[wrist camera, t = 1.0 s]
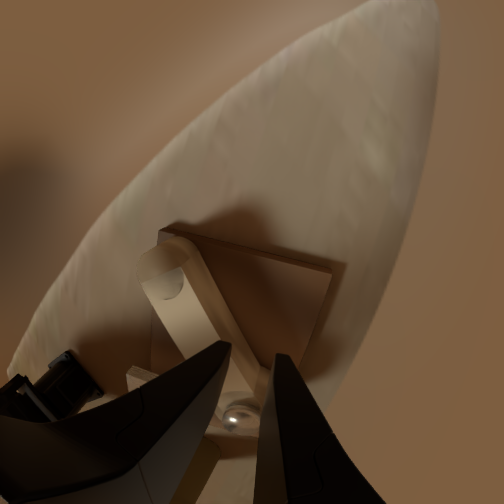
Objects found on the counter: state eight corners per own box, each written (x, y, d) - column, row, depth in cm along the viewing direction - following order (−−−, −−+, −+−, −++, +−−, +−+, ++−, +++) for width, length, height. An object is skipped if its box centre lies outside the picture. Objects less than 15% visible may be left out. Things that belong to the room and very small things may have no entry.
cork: (177, 455, 28) (147, 523, 18) (164, 427, 26) (125, 502, 16) (224, 463, 27) (201, 538, 17) (216, 436, 25) (186, 522, 15)
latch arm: (287, 397, 20) (285, 425, 18) (238, 407, 22) (230, 433, 19) (197, 224, 18) (178, 236, 15) (144, 250, 19) (120, 265, 16)
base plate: (267, 431, 24) (266, 439, 23) (155, 398, 25) (151, 404, 24) (331, 268, 18) (332, 274, 17) (164, 227, 19) (158, 230, 18)
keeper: (274, 359, 21) (265, 415, 16) (256, 417, 23) (245, 468, 18) (161, 329, 22) (126, 373, 16) (161, 391, 24) (136, 433, 19)
